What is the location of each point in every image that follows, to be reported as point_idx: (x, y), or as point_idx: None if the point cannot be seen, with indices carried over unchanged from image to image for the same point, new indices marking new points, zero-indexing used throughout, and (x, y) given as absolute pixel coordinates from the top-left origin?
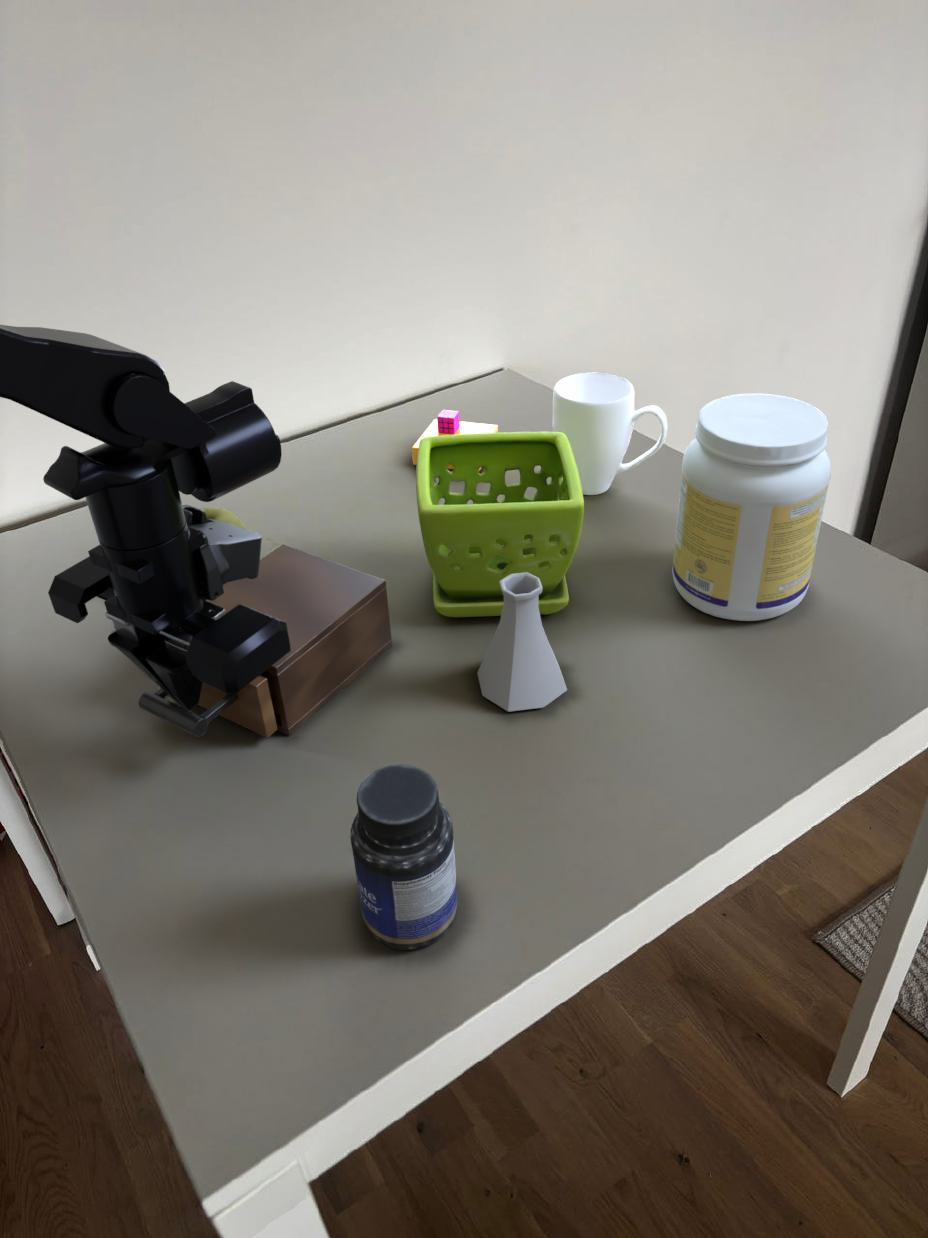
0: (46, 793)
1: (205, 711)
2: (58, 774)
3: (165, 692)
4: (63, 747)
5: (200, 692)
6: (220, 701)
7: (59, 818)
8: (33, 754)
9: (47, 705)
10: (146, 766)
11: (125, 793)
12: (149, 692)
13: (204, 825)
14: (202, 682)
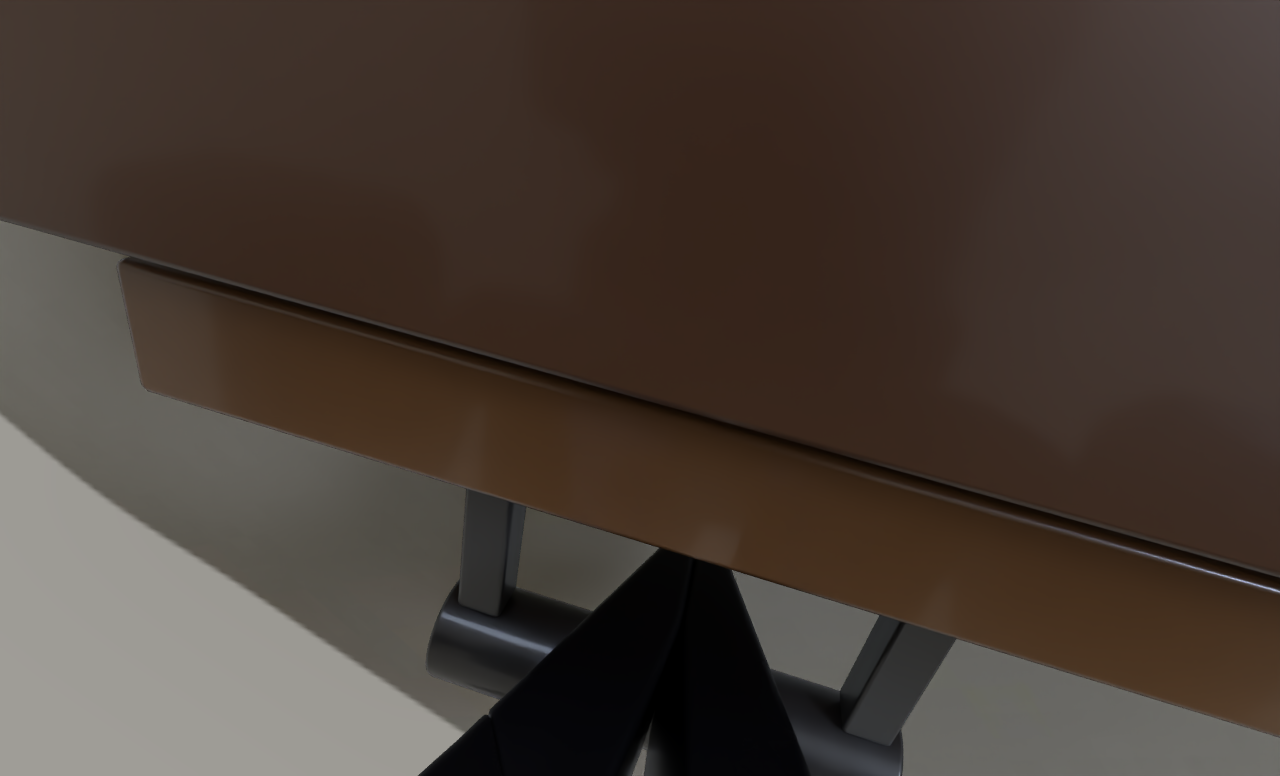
0: (413, 688)
1: (857, 703)
2: (383, 632)
3: (508, 576)
4: (302, 544)
5: (751, 623)
6: (920, 629)
7: None
8: (257, 580)
9: (87, 394)
10: (603, 575)
11: None
12: (447, 646)
13: (955, 754)
14: (782, 701)
